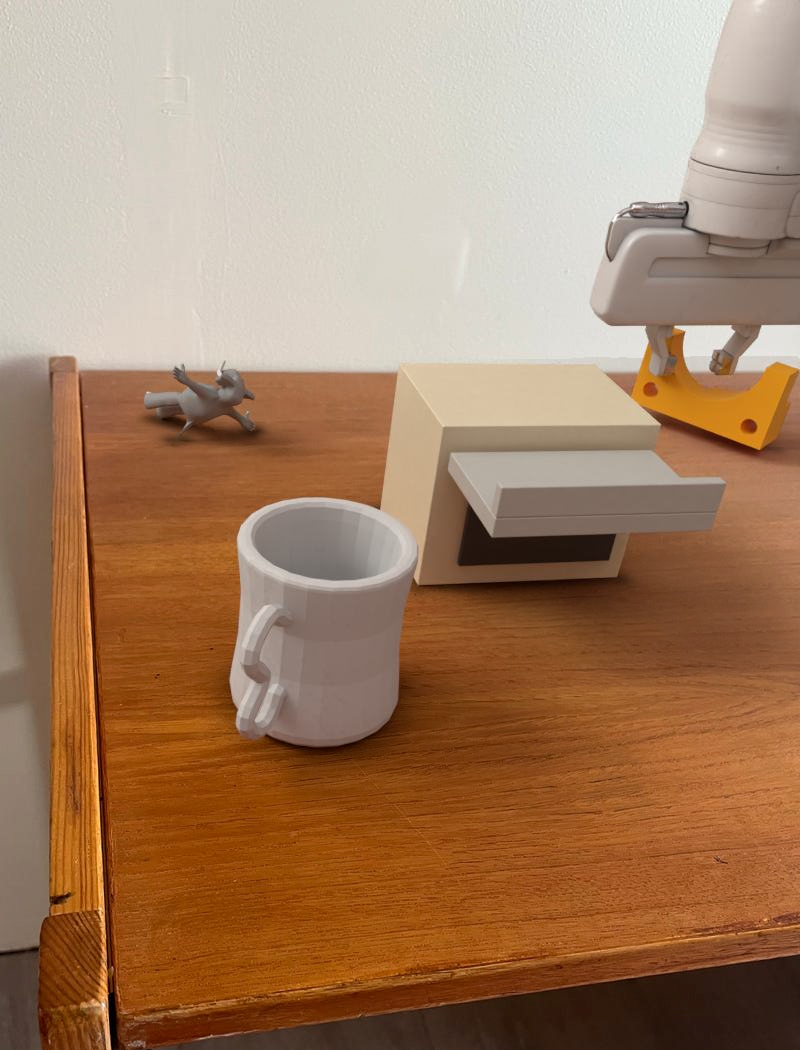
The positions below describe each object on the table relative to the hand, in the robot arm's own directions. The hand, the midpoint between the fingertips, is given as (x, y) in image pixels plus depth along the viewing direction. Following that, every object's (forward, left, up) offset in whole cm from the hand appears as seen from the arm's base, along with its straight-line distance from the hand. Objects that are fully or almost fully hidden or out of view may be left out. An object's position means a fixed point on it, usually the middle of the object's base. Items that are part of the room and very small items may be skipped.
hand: (690, 373), depth 89 cm
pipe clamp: (-2, +1, -4) cm, 4 cm away
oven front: (+24, +23, -5) cm, 34 cm away
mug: (+41, +36, -5) cm, 55 cm away
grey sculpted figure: (+43, +1, -5) cm, 43 cm away
